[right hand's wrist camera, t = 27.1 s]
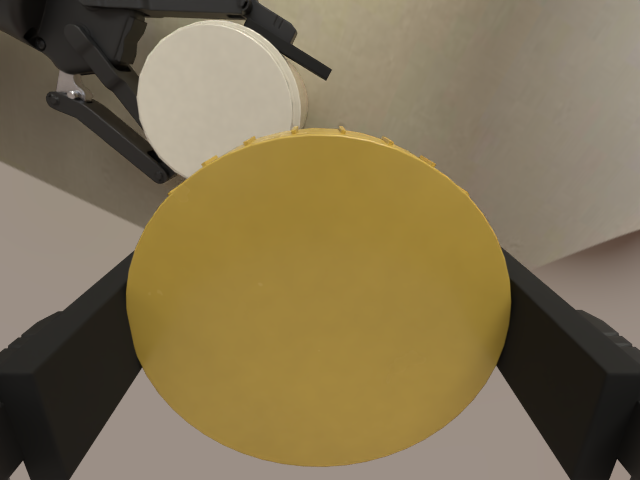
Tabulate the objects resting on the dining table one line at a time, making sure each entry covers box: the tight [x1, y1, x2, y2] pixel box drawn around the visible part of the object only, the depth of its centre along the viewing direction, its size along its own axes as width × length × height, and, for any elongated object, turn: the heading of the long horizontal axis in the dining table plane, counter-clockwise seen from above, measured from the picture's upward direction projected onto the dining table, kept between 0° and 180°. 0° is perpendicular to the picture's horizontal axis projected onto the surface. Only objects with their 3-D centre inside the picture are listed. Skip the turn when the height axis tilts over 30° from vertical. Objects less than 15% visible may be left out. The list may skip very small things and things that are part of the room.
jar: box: [137, 20, 308, 179], centre depth 28 cm, size 9×9×15 cm
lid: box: [126, 126, 511, 467], centre depth 11 cm, size 10×10×2 cm
